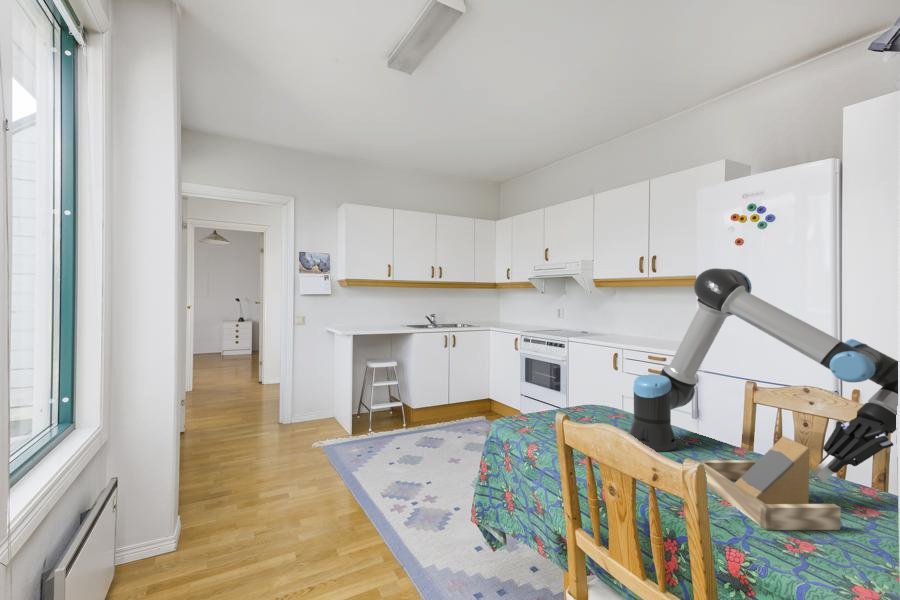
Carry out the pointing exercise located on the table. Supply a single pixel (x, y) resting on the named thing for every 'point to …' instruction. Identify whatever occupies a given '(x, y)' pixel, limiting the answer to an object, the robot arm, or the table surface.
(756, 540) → the table surface
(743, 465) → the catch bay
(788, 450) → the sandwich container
